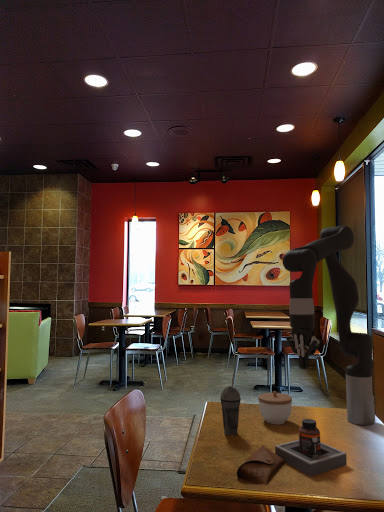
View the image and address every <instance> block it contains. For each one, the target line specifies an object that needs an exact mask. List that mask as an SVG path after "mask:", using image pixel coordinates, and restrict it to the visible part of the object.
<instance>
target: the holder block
mask: <svg viewBox="0 0 384 512" xmlns="http://www.w3.org/2000/svg"><path fill="white" fill-rule="evenodd" d="M320 448H321V455H320V456H316V457H313V458H309V457H307V456H305V455H303V454H301V453H299V439H297V440H293V441H288V442H283V443H281V444H276V445H275V446H274V451H275V452H274V453H275V454H277V455H278V456H280V457H281V458H283V459H284V460H285V463H284V464H287V465H289V466H291V467H292V468H294V469H297V470H298V471H300V472H302V473H304V474H305V475H307V476H309V477H313V476H316V475H320V474H323V473H326V472H330V471H332V470H335V469H339V468H343V467H345V466H347V452H345V451H342V450H340V449H338V448H335V447H333V446H331V445H329V444H326V443H324V442H321V441H320Z"/></svg>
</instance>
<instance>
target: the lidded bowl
mask: <svg viewBox="0 0 384 512" xmlns="http://www.w3.org/2000/svg"><path fill="white" fill-rule="evenodd" d="M257 398H258V408H259V413H260V415H261V417H262V418H263V420H265V422H266V423H267V424H270V425H284V424H285V423H286V421H288V419H289V418H290V416H291V414H292V407H293V406H292V405H293V404H292V403H293V402H292V401H293V398H292V396H291V395H288V394H285V393H281V392H277V391H276V390H274V391H272V392H264V393H261V394H259V395H258V396H257Z"/></svg>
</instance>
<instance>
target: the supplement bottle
mask: <svg viewBox="0 0 384 512" xmlns="http://www.w3.org/2000/svg"><path fill="white" fill-rule="evenodd" d="M301 425H302V426H300V427H299V429H298V440H299V453H301V454H303V455H305V456H307V457H309V458H313V457H316V456H320V455H321V448H320V442H321V431H320V429H319V428H318V427H317V421H316V420H315V419H312V418H303V419H301Z"/></svg>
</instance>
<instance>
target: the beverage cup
mask: <svg viewBox="0 0 384 512" xmlns="http://www.w3.org/2000/svg"><path fill="white" fill-rule="evenodd" d="M234 382H235V373H234V374H232V381H231V386H227V387H224V389H223V390H222V392H221V394H220V406H221V410H222V411H221V413H222V423H223V424H222V425H223V432H224V434H225V435H227V436H236V435H238V430H239V416H240V406H241V400H242V399H241V394H240V392H239V390H238V389H237V388H235V387H234Z"/></svg>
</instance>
